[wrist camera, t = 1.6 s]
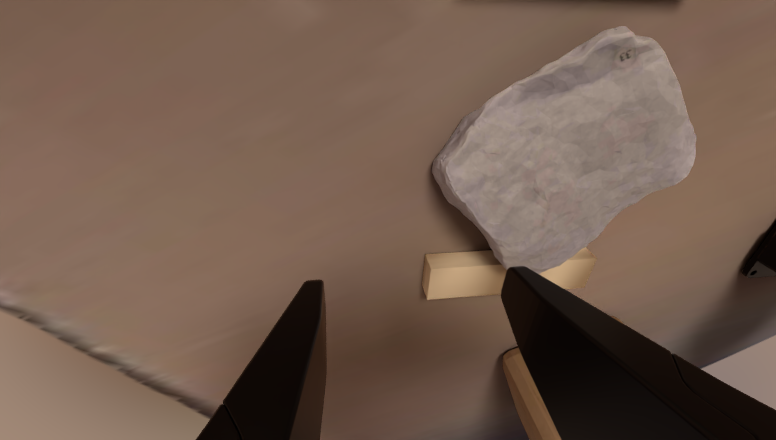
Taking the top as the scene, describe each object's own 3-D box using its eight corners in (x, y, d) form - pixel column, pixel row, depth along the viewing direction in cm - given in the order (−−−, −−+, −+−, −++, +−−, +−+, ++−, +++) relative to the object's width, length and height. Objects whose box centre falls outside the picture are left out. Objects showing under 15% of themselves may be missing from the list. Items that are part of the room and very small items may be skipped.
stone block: (405, 153, 21) (502, 262, 24) (414, 173, 16) (532, 304, 19) (579, -3, 18) (664, 142, 21) (645, -30, 14) (741, 158, 17)
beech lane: (716, -94, 15) (753, -104, 14) (571, 273, 25) (584, 287, 24) (466, -118, 13) (481, -130, 12) (421, 283, 24) (427, 299, 22)
